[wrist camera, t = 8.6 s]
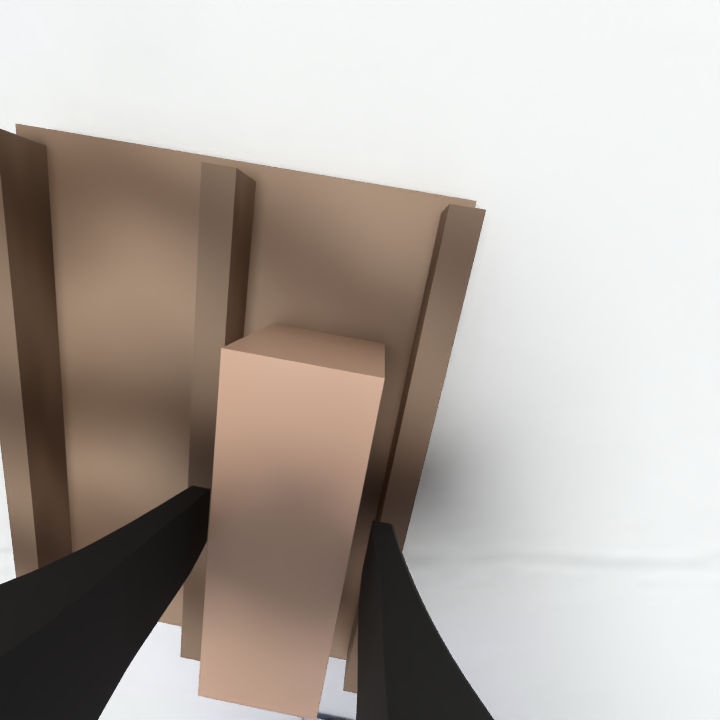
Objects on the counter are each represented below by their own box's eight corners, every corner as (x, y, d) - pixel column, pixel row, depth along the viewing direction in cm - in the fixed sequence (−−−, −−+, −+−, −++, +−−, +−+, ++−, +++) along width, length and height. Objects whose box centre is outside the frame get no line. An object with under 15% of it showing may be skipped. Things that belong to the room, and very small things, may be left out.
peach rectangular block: (333, 605, 15) (316, 720, 11) (245, 587, 15) (197, 695, 11) (384, 344, 12) (384, 378, 8) (273, 323, 12) (220, 348, 8)
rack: (367, 637, 17) (364, 703, 14) (77, 578, 17) (22, 633, 15) (467, 208, 12) (490, 190, 9) (50, 137, 12) (-41, 101, 10)
